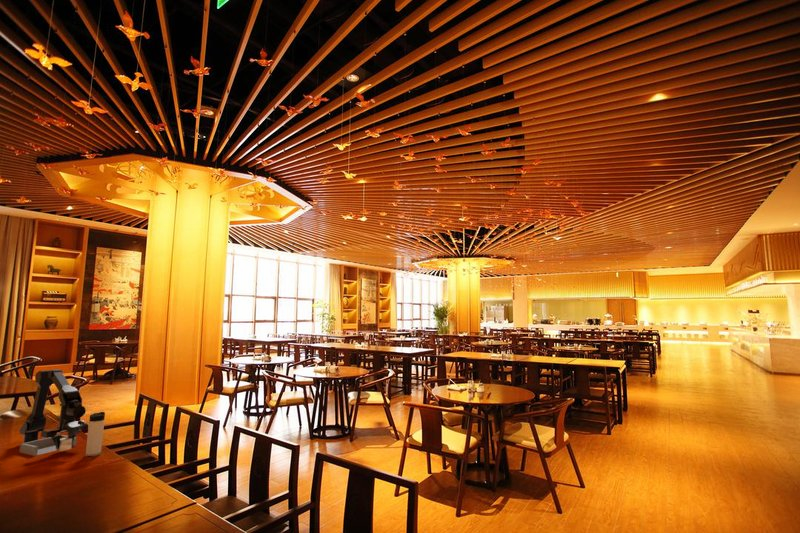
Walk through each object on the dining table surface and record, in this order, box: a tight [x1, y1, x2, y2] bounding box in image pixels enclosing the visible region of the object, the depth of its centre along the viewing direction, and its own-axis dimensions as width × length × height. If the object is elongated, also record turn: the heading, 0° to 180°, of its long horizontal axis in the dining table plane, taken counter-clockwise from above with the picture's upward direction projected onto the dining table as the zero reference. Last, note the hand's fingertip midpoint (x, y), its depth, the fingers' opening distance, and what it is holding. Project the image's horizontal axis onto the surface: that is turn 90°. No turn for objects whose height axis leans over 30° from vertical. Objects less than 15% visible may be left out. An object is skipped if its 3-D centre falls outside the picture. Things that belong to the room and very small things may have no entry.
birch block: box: [56, 437, 72, 452], centre depth 208 cm, size 4×4×5 cm
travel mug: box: [85, 411, 106, 457], centre depth 207 cm, size 6×7×20 cm
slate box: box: [19, 434, 77, 457], centre depth 212 cm, size 13×18×4 cm
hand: (63, 447), depth 208 cm, fingers open, 5 cm apart
